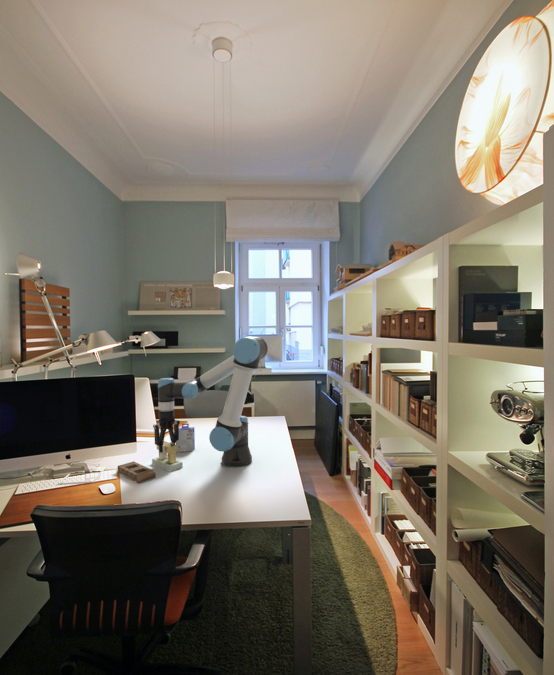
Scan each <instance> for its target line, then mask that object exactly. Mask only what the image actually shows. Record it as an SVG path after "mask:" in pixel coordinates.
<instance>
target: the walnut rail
mask: <svg viewBox="0 0 554 675" xmlns="http://www.w3.org/2000/svg"><path fill="white" fill-rule="evenodd" d="M117 473H118V474H120V475H122V476H124V477H126V478H127V479H129V480H132V481H133V482H135V483H137V484H141V483H144V482H147V481H148V482H149V481H150V480H153V479H156V470H153V469H151V468H149V467H147V466H145V465H143V464H141V463H138V462H136V461H130V462H127V463H124V464H120V465H117Z"/></svg>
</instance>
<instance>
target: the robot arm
mask: <svg viewBox="0 0 554 675" xmlns="http://www.w3.org/2000/svg"><path fill="white" fill-rule="evenodd" d="M232 348H233V350H232V356H230V357H228V358H226V359H225V360H224V361H222V362H220V363H219V364H218V365H216V366H214V367H212V368H210V369H209V370H208V371H206V372H204V373H203V374H201V375H200V376H198V377H196V378H195V379H193V380H190V381H185V382H175V379H174V378H173V377H163V378H159V379H158V381H157V394H158V402H157V403H158V412H157V413H158V422H157V423H156V424H153V425H152V427H153V429H154V430H153V432H154V445H156V446H157V445H158V446H159V450H158V453H159V452H160V458H161V459H165V446H164V445H163V442H164V441H165V437H166V432H167V430H168V435H169V438H170V442H169V443H171V444H174V445H176V442H177V441H178V440H179V428H180V427H179V426H180V423H181V420H178V419H175V399H187V400H189V399H195V398H196V397H197V396H198V395H200V394H203V393H204V392H206V391H207V389H210V388H211V387H212V386H214V385H216V384H217V383H219V382H221V381H222V380H224V379H226V378H228V377H229V376H230V375H232V377H231V382H230V384H229V388H228V392H227V396H226V400H225V403H224V407H223V409H222V410H223V411H222V414H220V416H218V417H217V418H216V419H217V420H216V423H215V427H214V428H213V429H212V430H211V431H210V433H209V437H208V438H209V442H210V444H211V446H212V447H213V449H215V450H216V451H218V452H222V453H223V454H222V457H221V464H222V465H224V466H226V467H233V468H234V467H243V466H244V467H245V466H247V465H249V464H251V463H252V461H253V457H252V453H251V450H250V447H249V420H248V417H247V416H246V415H242V413H243V409H244V405H245V402H246V399H247V394H248V393H249V388H250V384H251V382H252V381H251V380H252V377H253V374H254V372H255V371H256V370H258V368H259V365H260V361H261V360H263V359H264V358H265V357H266V355H267V354H268V352H269V350H268V348H269V347H268V343H267V342H266V341H265V339H263V338H262V337H260V336H244V337H241V338H240V339H237V341H236V342H235V343H234V345H233V347H232Z"/></svg>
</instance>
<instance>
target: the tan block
mask: <svg viewBox="0 0 554 675" xmlns="http://www.w3.org/2000/svg"><path fill="white" fill-rule="evenodd" d="M163 445H164V446H165V459H161V458H160V452H159V446H158V445H156V450H158V457H159V461H162V460H166V459H167V456H168V464H169V465H170V464H174V463H176V460H177V453H178V446H177V445H176V444H175V445H174V444H171V443H170V442H168V441H165V440H164V442H163Z"/></svg>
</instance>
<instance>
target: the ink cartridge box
mask: <svg viewBox="0 0 554 675" xmlns="http://www.w3.org/2000/svg"><path fill="white" fill-rule="evenodd" d="M181 424H182V425H181V427H179V440H178V441H177V442H176V443H175V445H177V446H178V452H179V453H180V452H194V450H195V449H196V447H195V446H196V445H195V440H196V439H195V438H196V437H195V435H196V434H195V426H191V427H190V426H189V425H190V424H189V423H181ZM178 452H177V453H178Z"/></svg>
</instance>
